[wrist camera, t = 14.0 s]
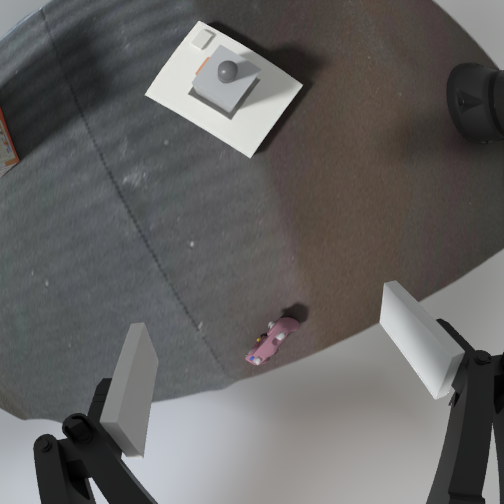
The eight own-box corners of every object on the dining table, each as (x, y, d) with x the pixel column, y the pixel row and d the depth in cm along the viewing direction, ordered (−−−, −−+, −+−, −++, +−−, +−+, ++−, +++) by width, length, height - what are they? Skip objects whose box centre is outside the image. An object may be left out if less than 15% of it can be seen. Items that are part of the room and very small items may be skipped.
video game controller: (282, 305, 51) (274, 318, 45) (303, 322, 51) (298, 337, 44) (248, 344, 54) (236, 361, 47) (267, 360, 53) (258, 378, 47)
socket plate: (298, 87, 37) (304, 84, 34) (248, 156, 40) (250, 158, 37) (200, 26, 32) (198, 19, 29) (148, 96, 35) (143, 94, 33)
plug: (250, 83, 36) (266, 63, 24) (229, 113, 37) (235, 105, 25) (215, 61, 34) (214, 32, 22) (193, 91, 35) (182, 74, 24)
